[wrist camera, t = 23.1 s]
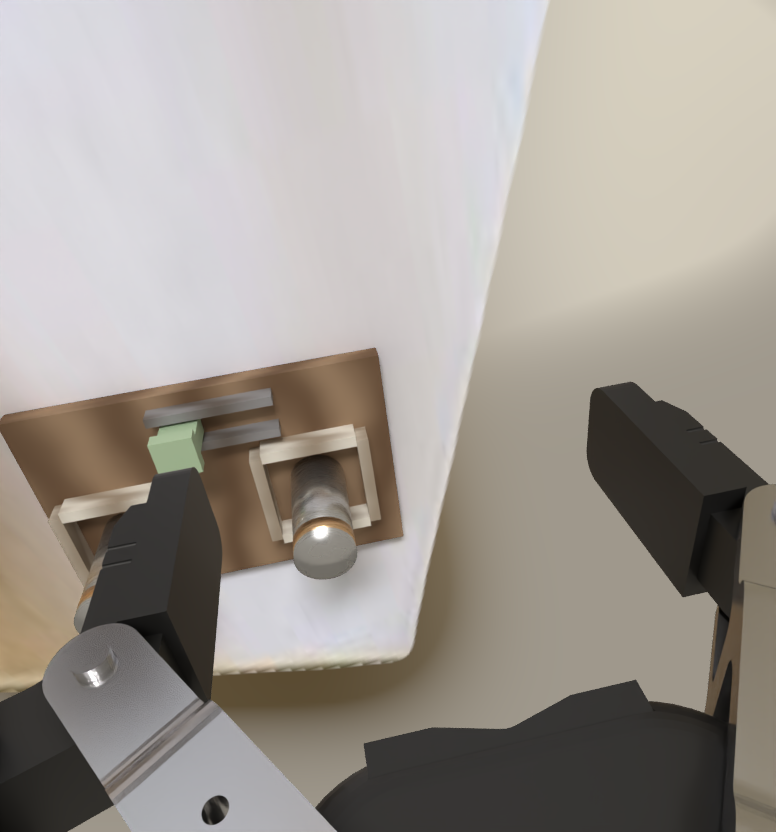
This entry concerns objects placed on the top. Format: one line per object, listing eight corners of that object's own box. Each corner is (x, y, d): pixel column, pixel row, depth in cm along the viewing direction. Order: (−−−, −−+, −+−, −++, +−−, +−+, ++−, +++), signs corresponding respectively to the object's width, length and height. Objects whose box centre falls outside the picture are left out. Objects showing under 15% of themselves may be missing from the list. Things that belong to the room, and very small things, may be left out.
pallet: (97, 588, 59) (88, 617, 56) (3, 415, 49) (-14, 439, 46) (400, 525, 62) (407, 550, 59) (375, 347, 51) (382, 366, 48)
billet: (296, 502, 56) (300, 585, 48) (284, 460, 54) (287, 540, 45) (348, 492, 56) (361, 572, 48) (339, 450, 54) (351, 526, 45)
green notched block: (169, 445, 51) (161, 480, 47) (156, 413, 49) (147, 445, 45) (208, 438, 51) (203, 471, 47) (197, 405, 49) (191, 437, 45)
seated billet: (114, 558, 56) (88, 649, 48) (94, 518, 53) (63, 607, 45) (168, 547, 56) (151, 636, 48) (151, 507, 54) (130, 594, 45)
